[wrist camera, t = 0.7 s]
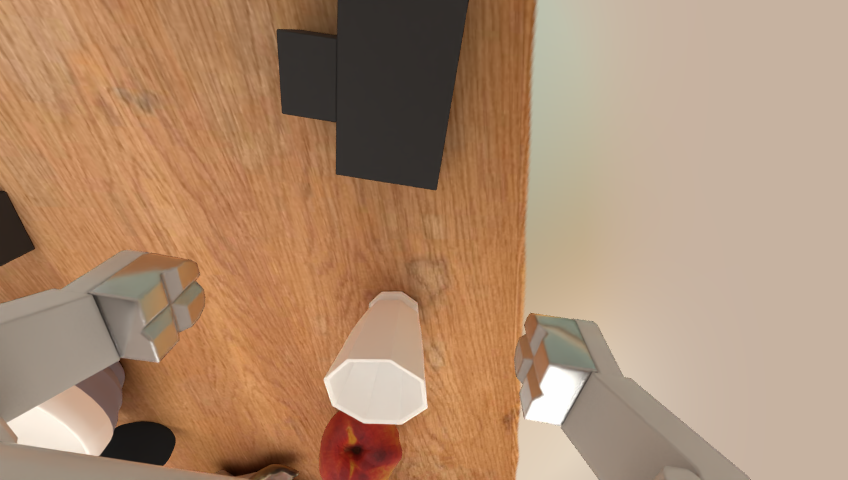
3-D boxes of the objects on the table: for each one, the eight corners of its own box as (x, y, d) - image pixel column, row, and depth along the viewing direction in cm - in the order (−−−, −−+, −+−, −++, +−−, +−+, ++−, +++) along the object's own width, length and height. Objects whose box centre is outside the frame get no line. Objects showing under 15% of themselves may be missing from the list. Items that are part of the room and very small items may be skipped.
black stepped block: (296, -38, 18) (270, -50, 16) (469, -10, 18) (471, -17, 16) (303, 151, 23) (284, 166, 21) (438, 173, 23) (436, 190, 21)
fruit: (419, 402, 36) (411, 490, 29) (388, 440, 40) (375, 526, 33) (347, 375, 34) (320, 461, 28) (322, 418, 38) (294, 502, 32)
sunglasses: (185, 426, 41) (156, 475, 37) (215, 472, 50) (194, 515, 46) (39, 403, 41) (-6, 449, 37) (95, 453, 50) (64, 494, 46)
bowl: (-23, 296, 33) (-142, 361, 26) (132, 319, 33) (51, 390, 26) (43, 393, 40) (-37, 464, 34) (169, 412, 40) (114, 486, 34)
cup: (448, 292, 28) (445, 376, 21) (411, 369, 33) (399, 458, 26) (363, 265, 28) (333, 344, 21) (339, 348, 33) (308, 434, 26)
